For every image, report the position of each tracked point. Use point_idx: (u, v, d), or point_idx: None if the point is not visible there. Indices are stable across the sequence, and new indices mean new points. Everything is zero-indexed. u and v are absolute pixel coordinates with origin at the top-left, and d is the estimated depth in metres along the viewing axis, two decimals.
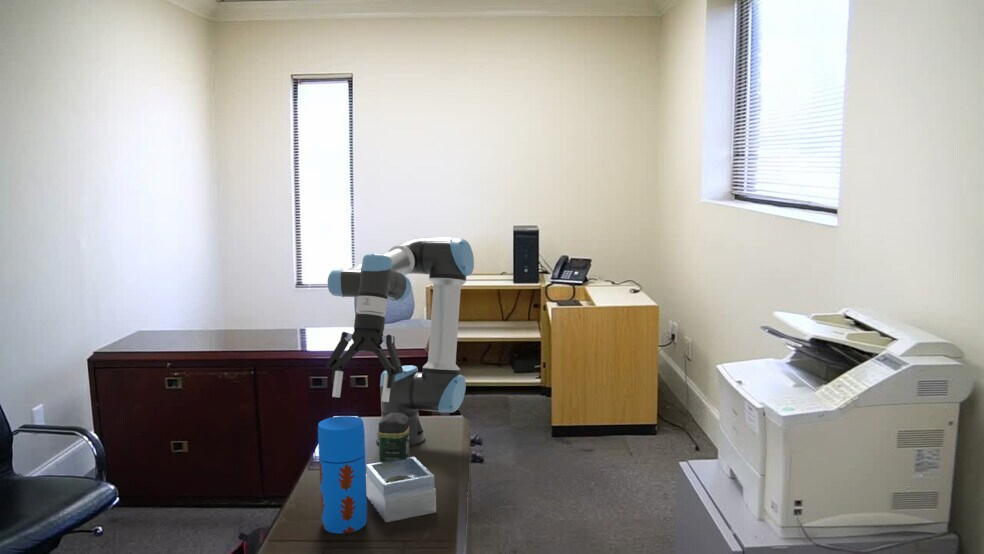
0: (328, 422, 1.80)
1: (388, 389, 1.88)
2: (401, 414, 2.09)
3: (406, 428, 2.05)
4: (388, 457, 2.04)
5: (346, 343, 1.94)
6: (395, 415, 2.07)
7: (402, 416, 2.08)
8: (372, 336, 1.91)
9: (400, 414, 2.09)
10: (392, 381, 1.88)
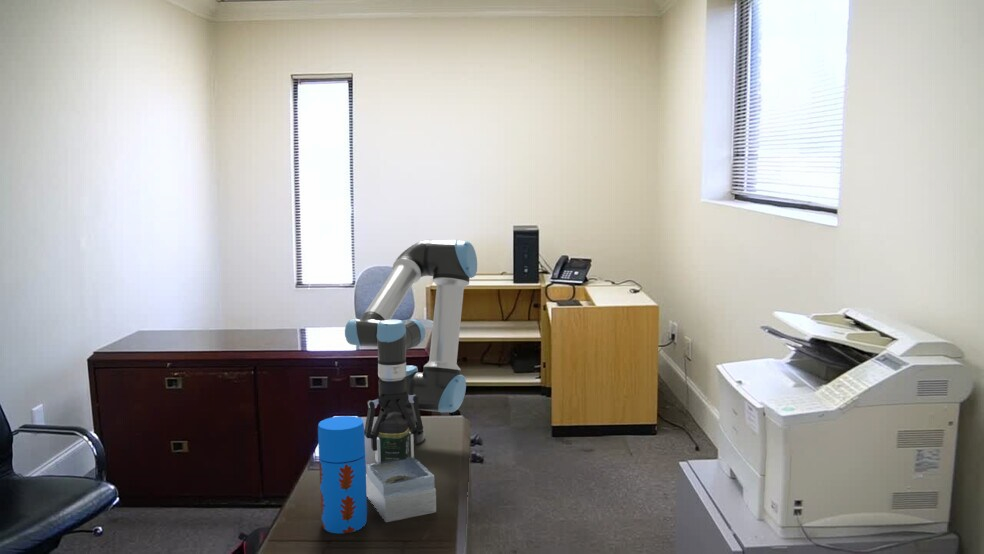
0: (328, 422, 1.80)
1: None
2: (401, 414, 2.09)
3: (406, 428, 2.05)
4: (388, 457, 2.04)
5: None
6: (395, 415, 2.07)
7: (402, 416, 2.08)
8: (401, 396, 2.06)
9: (400, 414, 2.09)
10: None
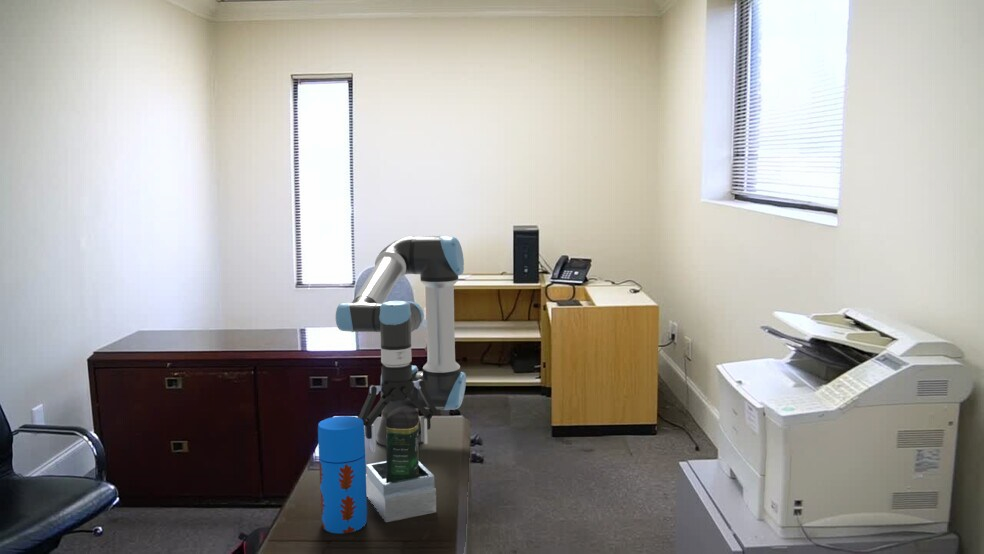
0: (328, 422, 1.80)
1: None
2: (410, 408, 1.94)
3: (416, 423, 1.90)
4: (396, 454, 1.89)
5: None
6: (404, 409, 1.92)
7: (412, 410, 1.93)
8: (405, 385, 1.90)
9: (409, 408, 1.94)
10: (429, 422, 1.95)
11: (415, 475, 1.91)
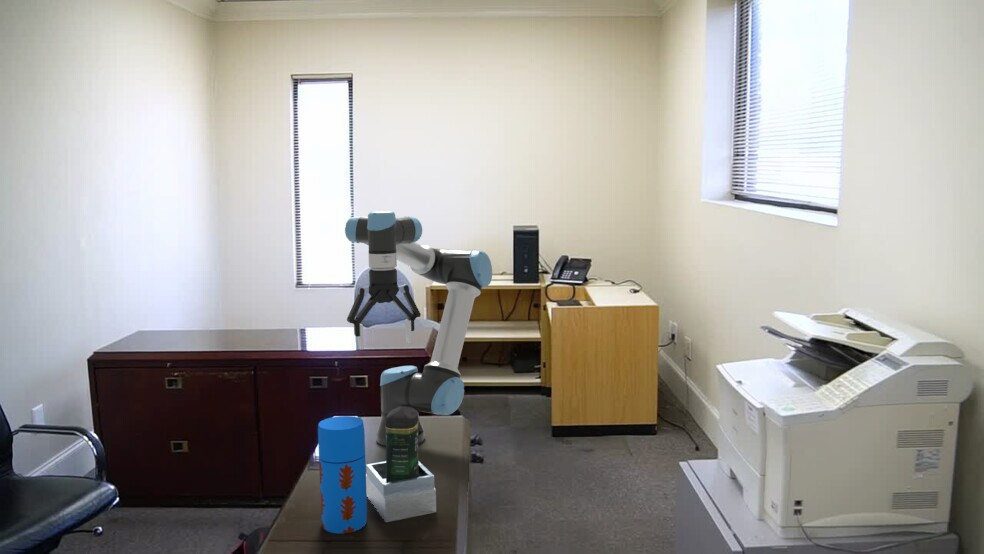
0: (328, 422, 1.80)
1: None
2: (410, 408, 1.94)
3: (415, 423, 1.90)
4: (396, 454, 1.89)
5: None
6: (403, 409, 1.92)
7: (411, 410, 1.93)
8: (391, 288, 2.08)
9: (408, 408, 1.94)
10: (413, 324, 2.12)
11: (415, 475, 1.91)
